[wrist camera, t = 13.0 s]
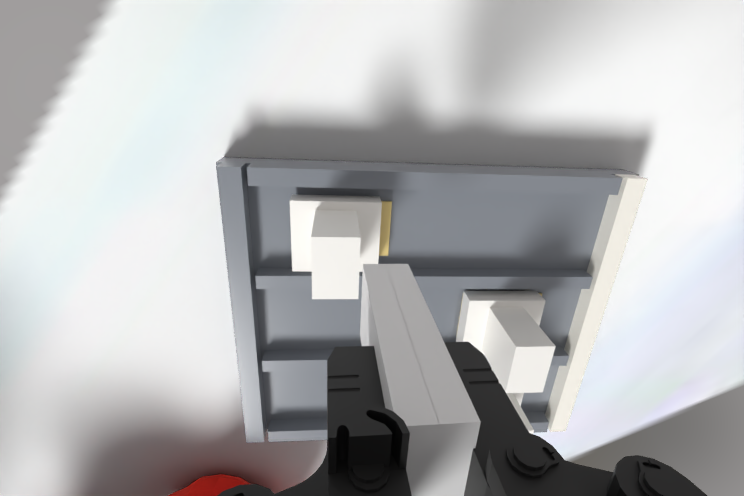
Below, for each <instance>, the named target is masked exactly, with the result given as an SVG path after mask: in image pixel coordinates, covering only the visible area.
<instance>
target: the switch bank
mask: <svg viewBox="0 0 744 496" xmlns="http://www.w3.org/2000/svg"><path fill="white" fill-rule="evenodd" d="M216 165H217V166H216V169H217V178H218V187H219V196H220V205H221V214H222V224H223V233H224V242H225V251H226V260H227V269H228V278H229V288H230V297H231V306H232V315H233V324H234V333H235V342H236V352H237V361H238V370H239V379H240V388H241V397H242V406H243V416H244V425H245V434H246V443H254V442H264V440H265V435H266V430H267V429H268V442H281V441H309V440H327V360H328V358H329V356H330V355H331V353H332V351H333V350H334V348H335V347H348V346H362V345H361V338H360V323H361V298H362V274H363V272H359V296H358V299H312V272H308V271H292V252H291V225H290V198H291V196H292V194H294V195H337V196H380V199H381V202H382V209H381V226H380V243H379V260H378V264H408V265H409V267H410V269H411V271H412V273H413V276H414V278H415V280H416V282H417V284H418V286H419V289H420V291H421V293H422V295H423V297H424V300H425V302H426V304H427V306H428V308H429V310H430V313H431V315H432V317H433V319H434V321H435V323H436V326H437V328H438V330H439V332H440V334H441V337H442V339H443V341H444V342H456V337H457V331H458V324H459V318H460V312H461V305H462V299H463V293H464V291H537V292H538V293H539V294H540V295H541V296H542V297H543V298H544V299H545V300H546V301H545V305H544V309H543V313H542V317H541V321H540V325H539V327H540V328H541V329H542V330H543V332H544V333H545V334H546V335H547V336H548V338H549V339H550V340H551V341H552V343H553V344H554V345H555V346H556V347H555V350H554V354H553V357H552V361H551V365H550V368H549V372H548V375H547V379H546V382H545V386H544V390H543V392H537V393H524V395H523V399H522V403H521V408H522V410H523V412H524V413H525V415H526V417H527V419H528V421H529V422H530V424H531V426H532V428H533V429H534V432H547V429H549V430H550V432H558V431H566V428H567V425H568V422H569V419H570V416H571V413H572V410H573V407H574V404H575V401H576V398H577V394H578V391H579V388H580V385H581V382H582V379H583V376H584V373H585V370H586V367H587V364H588V361H589V358H590V355H591V352H592V349H593V345H594V342H595V339H596V336H597V333H598V330H599V327H600V324H601V321H602V318H603V315H604V312H605V309H606V306H607V303H608V299H609V296H610V293H611V290H612V287H613V284H614V281H615V278H616V275H617V272H618V269H619V266H620V263H621V260H622V257H623V253H624V250H625V247H626V244H627V241H628V238H629V235H630V232H631V229H632V226H633V223H634V220H635V217H636V214H637V211H638V207H639V204H640V201H641V198H642V195H643V192H644V189H645V186H646V183H647V180H648V179H646V178H643V177H640V176H639V175H638V174H635V173H632V172H628V171H625V170H616V169H584V168H552V167H520V166H488V165H456V164H424V163H391V162H359V161H327V160H295V159H263V158H231V157H223V158H222V159H220V160H219V161H217V162H216ZM484 356H485V355H484ZM485 358H486V357H485ZM486 360H487V358H486ZM487 361H488V360H487ZM488 363H489V362H488ZM489 365H490V364H489Z"/></svg>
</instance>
